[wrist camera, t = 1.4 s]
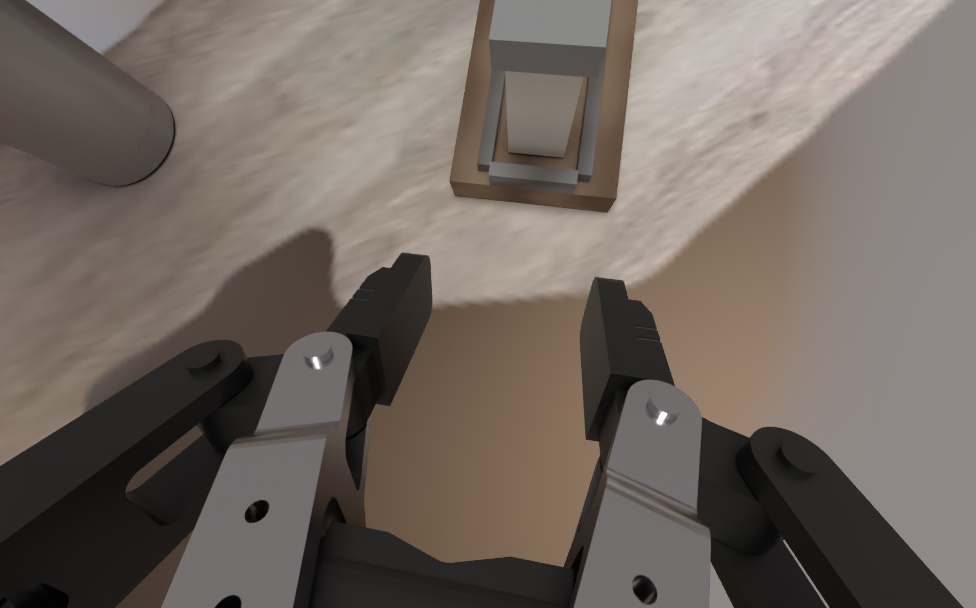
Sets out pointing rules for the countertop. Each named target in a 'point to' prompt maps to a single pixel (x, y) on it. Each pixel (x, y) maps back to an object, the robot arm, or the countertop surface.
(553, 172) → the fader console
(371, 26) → the countertop surface
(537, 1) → the fader tab
